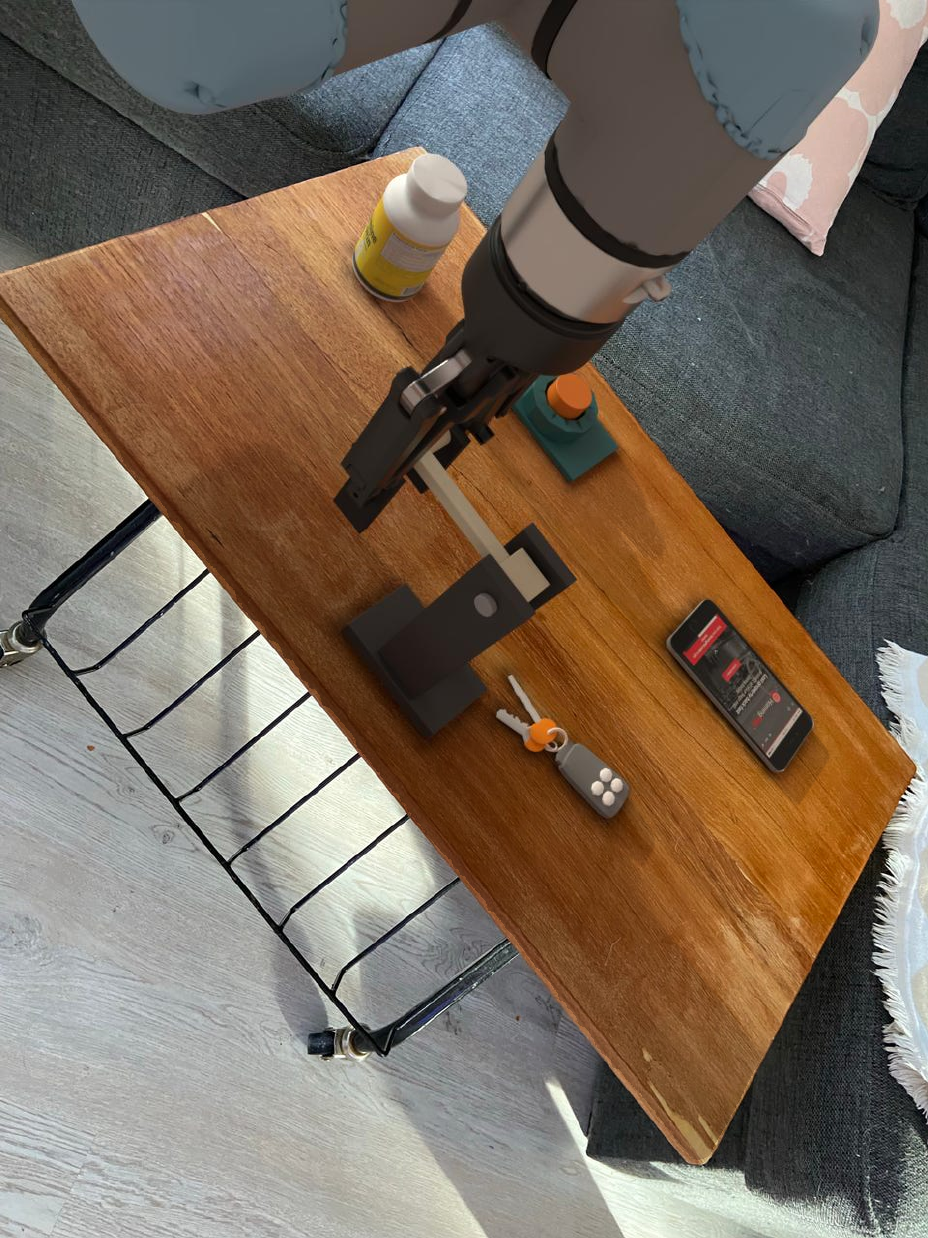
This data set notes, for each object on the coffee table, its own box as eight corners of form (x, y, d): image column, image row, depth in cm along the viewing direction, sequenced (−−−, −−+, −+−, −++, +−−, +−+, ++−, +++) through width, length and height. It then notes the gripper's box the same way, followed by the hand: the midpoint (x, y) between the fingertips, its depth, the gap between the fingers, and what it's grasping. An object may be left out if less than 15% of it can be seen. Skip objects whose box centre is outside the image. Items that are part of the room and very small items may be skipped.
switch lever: (370, 466, 59) (385, 447, 57) (427, 433, 61) (444, 413, 59) (493, 628, 59) (512, 614, 57) (544, 587, 62) (564, 573, 60)
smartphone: (708, 595, 87) (816, 722, 87) (703, 598, 88) (811, 725, 88) (666, 642, 83) (780, 775, 83) (661, 644, 84) (774, 777, 84)
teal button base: (485, 375, 86) (498, 359, 84) (534, 347, 90) (548, 330, 87) (569, 484, 86) (584, 470, 83) (615, 450, 89) (631, 437, 87)
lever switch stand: (340, 630, 71) (443, 526, 56) (398, 590, 74) (510, 481, 59) (425, 740, 71) (550, 664, 56) (479, 694, 74) (611, 612, 59)
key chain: (626, 787, 77) (637, 784, 76) (604, 823, 75) (615, 820, 74) (508, 675, 76) (517, 669, 75) (482, 708, 74) (491, 702, 73)
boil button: (538, 392, 85) (548, 381, 83) (563, 377, 87) (574, 366, 85) (564, 425, 85) (574, 415, 83) (588, 409, 87) (599, 399, 85)
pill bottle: (378, 230, 86) (432, 130, 76) (432, 283, 87) (493, 190, 77) (334, 264, 82) (385, 163, 73) (391, 318, 83) (449, 226, 73)
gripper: (490, 403, 39) (313, 609, 59) (721, 265, 49) (505, 480, 69) (375, 256, 39) (237, 511, 59) (629, 149, 50) (440, 396, 69)
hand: (382, 494), depth 64 cm, fingers closed on switch lever, 5 cm apart
